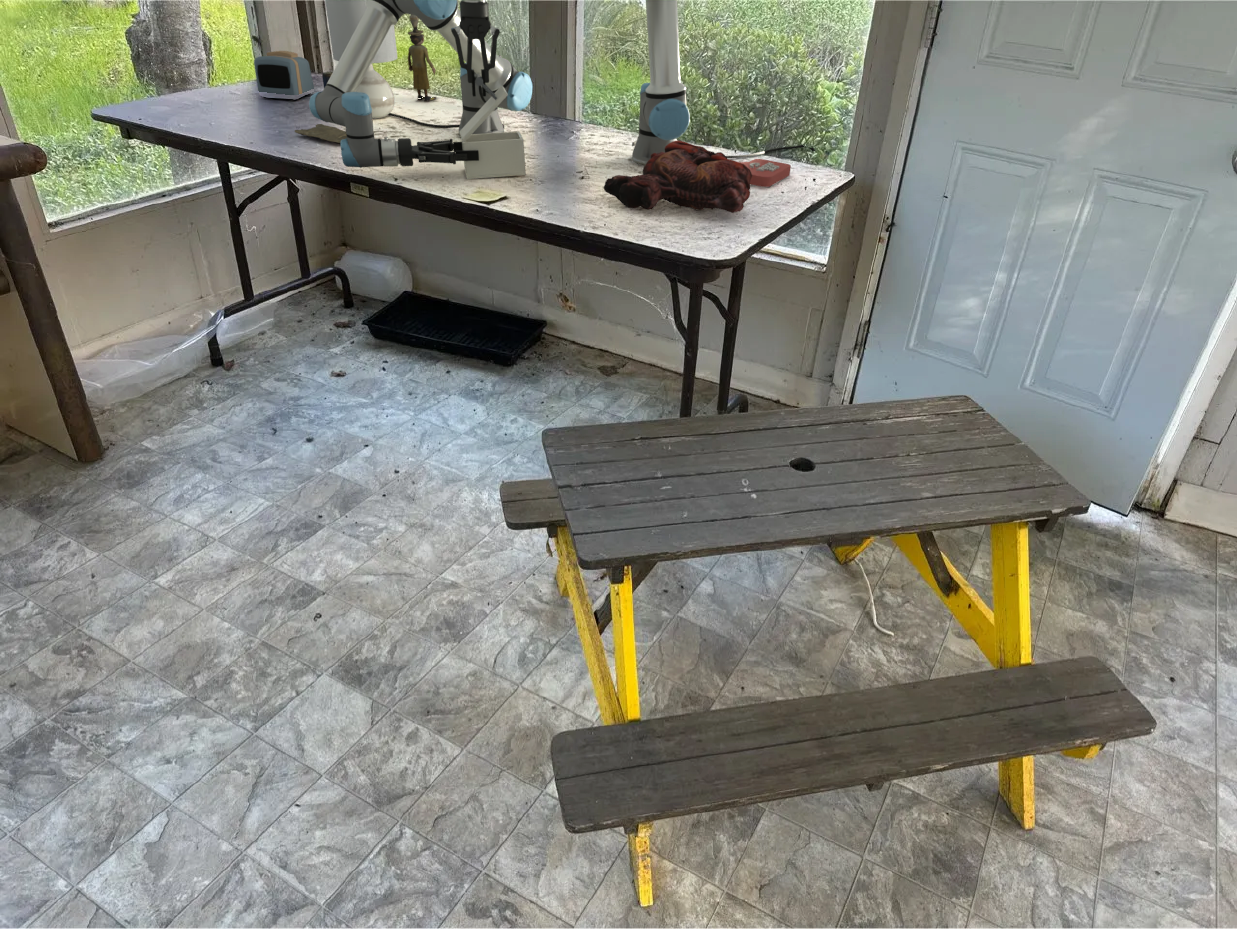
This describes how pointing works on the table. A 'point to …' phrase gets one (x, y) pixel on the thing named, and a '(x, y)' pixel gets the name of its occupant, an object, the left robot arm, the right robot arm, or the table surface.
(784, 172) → the plaque
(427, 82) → the figurine
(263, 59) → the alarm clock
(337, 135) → the stone tool
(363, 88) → the lamp
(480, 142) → the chest
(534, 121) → the table surface
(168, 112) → the table surface
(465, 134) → the lid
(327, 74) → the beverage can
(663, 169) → the sculpture
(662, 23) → the right robot arm
